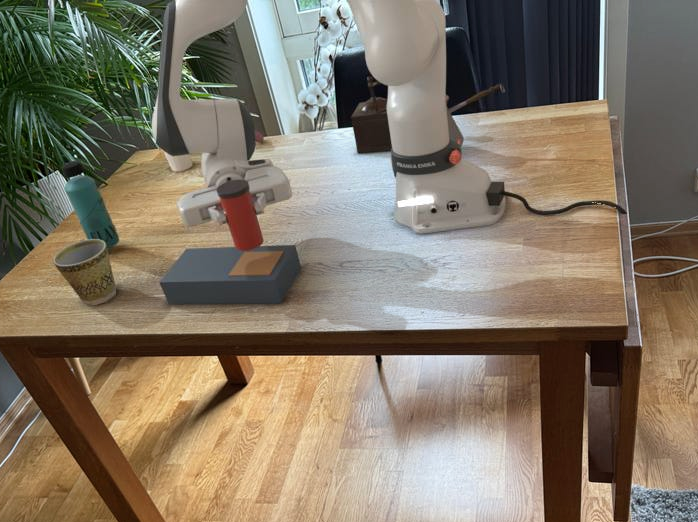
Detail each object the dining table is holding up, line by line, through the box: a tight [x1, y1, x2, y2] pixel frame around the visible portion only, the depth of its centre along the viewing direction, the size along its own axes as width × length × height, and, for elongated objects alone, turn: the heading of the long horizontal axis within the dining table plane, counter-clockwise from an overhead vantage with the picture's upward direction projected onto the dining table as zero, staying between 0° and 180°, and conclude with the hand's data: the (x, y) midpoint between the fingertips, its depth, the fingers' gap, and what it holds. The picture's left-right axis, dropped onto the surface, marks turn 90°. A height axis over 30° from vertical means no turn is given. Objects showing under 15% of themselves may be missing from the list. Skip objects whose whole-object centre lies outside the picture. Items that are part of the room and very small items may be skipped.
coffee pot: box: [446, 83, 506, 147], centre depth 159 cm, size 21×12×15 cm, turn 75°
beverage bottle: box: [61, 160, 120, 250], centre depth 148 cm, size 6×7×20 cm
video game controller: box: [255, 130, 265, 144], centre depth 190 cm, size 10×5×7 cm, turn 68°
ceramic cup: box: [52, 239, 117, 306], centre depth 136 cm, size 13×10×10 cm
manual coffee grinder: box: [350, 76, 392, 154], centre depth 172 cm, size 16×11×18 cm
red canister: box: [217, 180, 264, 251], centre depth 121 cm, size 6×6×11 cm
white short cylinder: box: [163, 151, 193, 172], centre depth 184 cm, size 7×7×7 cm
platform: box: [159, 244, 302, 305], centre depth 131 cm, size 23×12×5 cm, turn 77°
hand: (241, 215), depth 120 cm, fingers closed on red canister, 5 cm apart
